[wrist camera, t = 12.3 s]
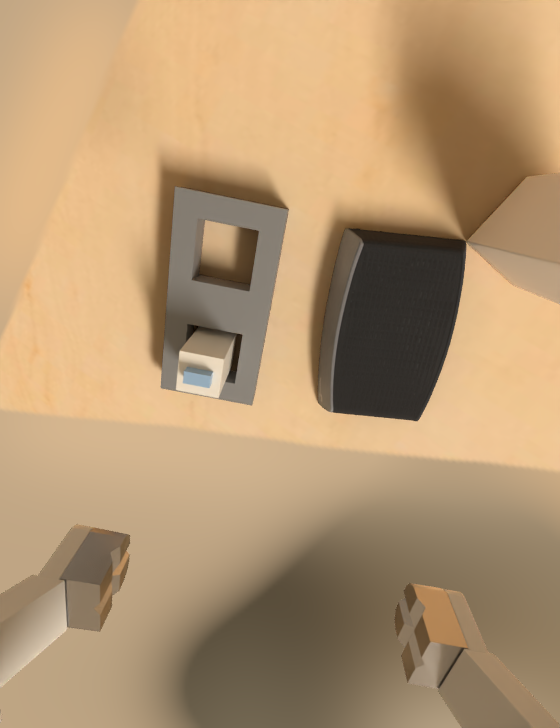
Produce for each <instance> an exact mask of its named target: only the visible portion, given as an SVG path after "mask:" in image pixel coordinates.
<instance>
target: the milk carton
mask: <svg viewBox="0 0 560 728" xmlns="http://www.w3.org/2000/svg"><path fill="white" fill-rule="evenodd" d="M467 243H468V244H469V245H470V246H471V247H472V248H473V249H474V250H475V251H476V252H477V253H478V254H480V255H481V256H482V257H483V258H484V259H485V260H486V261H487V262H488V263H489V264H490V265H491V266H493V267H494V268H495V269H496V270H497V271H498V272H499V273H500V274H501V275H502V276H503V277H504V278H506V279H507V280H508V281H509V282H510V283H511V284H512V285H513V286H515V287H517V288H520V289H522V290H525V291H527V292H530V293H532V294H535V295H538V296H540V297H543V298H545V299H548V300H550V301H553V302H555V303H558V304H560V173H554V174H545V175H536V176H528V177H526V178H525V179H524V180H523V181H522V182H521V183H520V185H519V186H518V187H517V188H516V189H515V190H514V191H513V192H512V193H511V194H510V195H509V196H508V197H507V198H506V200H505V201H504V202H503V203H502V204H501V205H500V206H499V207H498V208H497V209H496V210H495V211H494V212H493V213H492V214H491V216H490V217H489V218H488V219H487V220H486V221H485V222H484V223H483V224H482V225H481V226H480V227H479V228H478V229H477V231H476V232H475V233H474V234H473V235H472V236H471V237H470V238H469V239H468V240H467Z"/></svg>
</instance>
